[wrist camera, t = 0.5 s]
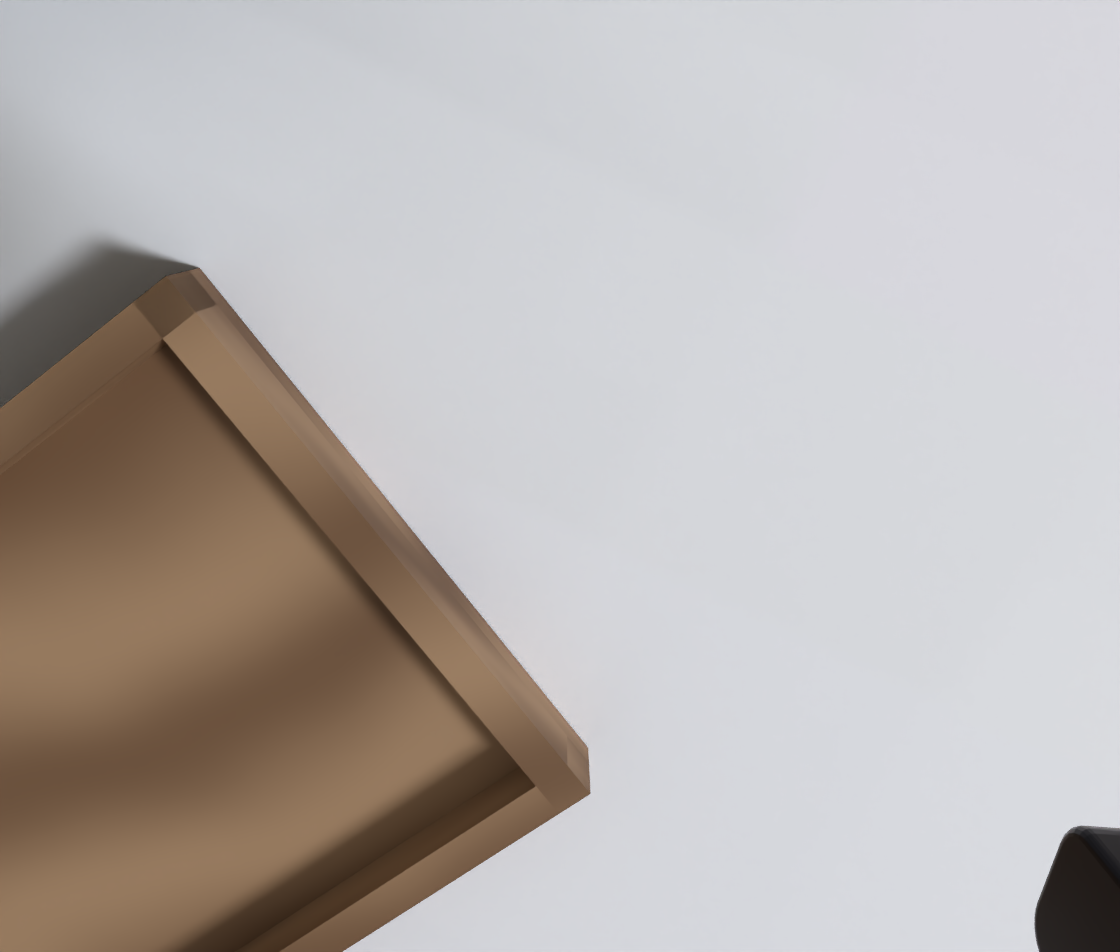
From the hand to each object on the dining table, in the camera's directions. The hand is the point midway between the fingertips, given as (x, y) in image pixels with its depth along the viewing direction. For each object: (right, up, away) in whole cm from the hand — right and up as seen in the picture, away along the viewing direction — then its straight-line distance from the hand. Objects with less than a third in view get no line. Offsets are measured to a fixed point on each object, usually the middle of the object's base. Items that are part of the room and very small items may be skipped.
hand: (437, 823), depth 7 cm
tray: (-11, -5, +16) cm, 20 cm away
